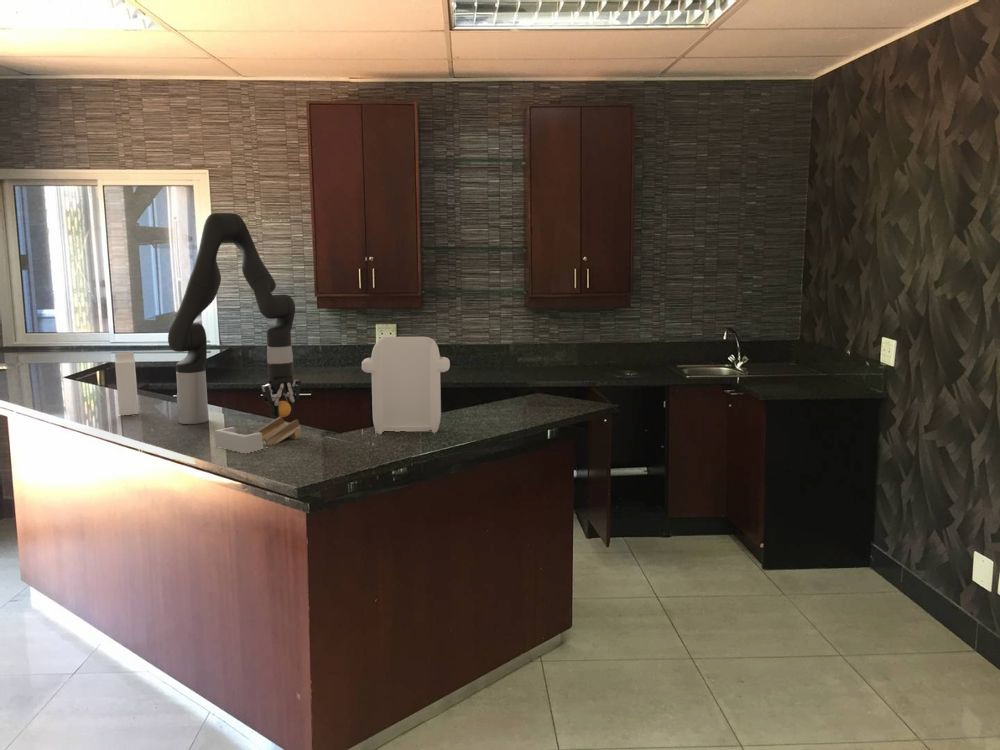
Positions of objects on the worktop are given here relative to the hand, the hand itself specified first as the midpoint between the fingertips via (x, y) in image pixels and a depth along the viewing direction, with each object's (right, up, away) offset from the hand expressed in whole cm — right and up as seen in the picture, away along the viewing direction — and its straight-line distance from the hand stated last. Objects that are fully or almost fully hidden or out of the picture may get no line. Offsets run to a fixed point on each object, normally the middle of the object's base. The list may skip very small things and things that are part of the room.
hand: (282, 415), depth 254 cm
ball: (0, +2, 0) cm, 2 cm away
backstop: (-10, -9, -12) cm, 18 cm away
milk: (-64, -2, +38) cm, 75 cm away
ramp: (-2, -7, -1) cm, 8 cm away
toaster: (+37, -6, +11) cm, 39 cm away
